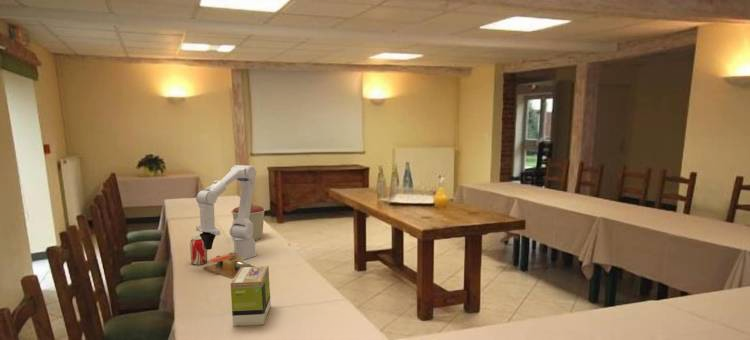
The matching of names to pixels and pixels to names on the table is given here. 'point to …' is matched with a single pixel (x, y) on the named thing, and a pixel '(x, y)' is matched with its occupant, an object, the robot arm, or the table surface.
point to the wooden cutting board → (227, 267)
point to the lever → (224, 257)
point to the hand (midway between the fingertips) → (208, 249)
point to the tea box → (250, 296)
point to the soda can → (198, 251)
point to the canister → (254, 220)
